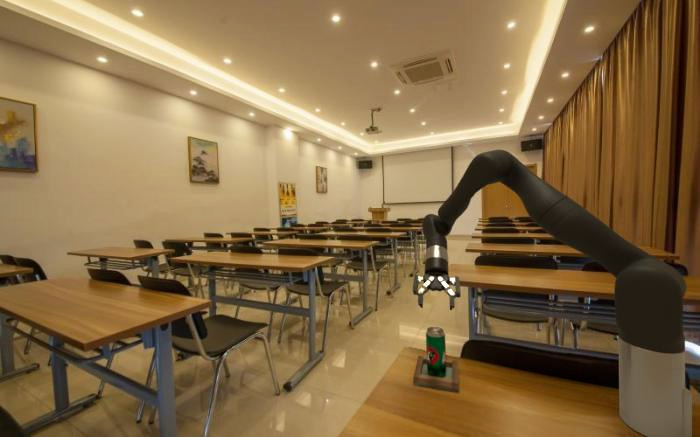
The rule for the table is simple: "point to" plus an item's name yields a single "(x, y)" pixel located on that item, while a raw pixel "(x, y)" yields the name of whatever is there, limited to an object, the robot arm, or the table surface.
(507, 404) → the table surface
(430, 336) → the soda can
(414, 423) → the table surface
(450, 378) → the tray
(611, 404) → the table surface
